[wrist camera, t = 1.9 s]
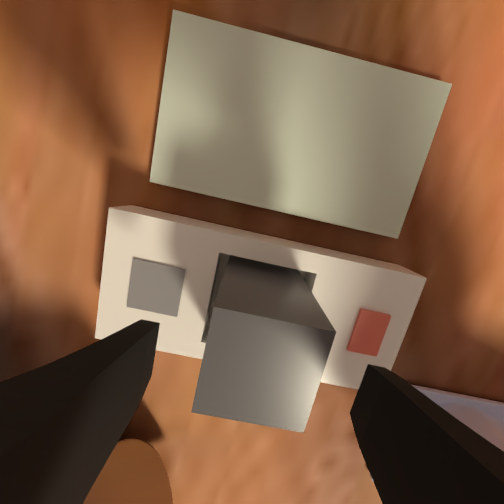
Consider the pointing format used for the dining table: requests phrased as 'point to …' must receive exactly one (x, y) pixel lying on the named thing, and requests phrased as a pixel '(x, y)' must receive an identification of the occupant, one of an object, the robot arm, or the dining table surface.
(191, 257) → the socket strip
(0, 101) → the dining table surface
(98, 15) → the dining table surface
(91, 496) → the muzzle brake
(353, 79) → the sage mat
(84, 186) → the dining table surface
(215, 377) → the block
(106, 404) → the robot arm
